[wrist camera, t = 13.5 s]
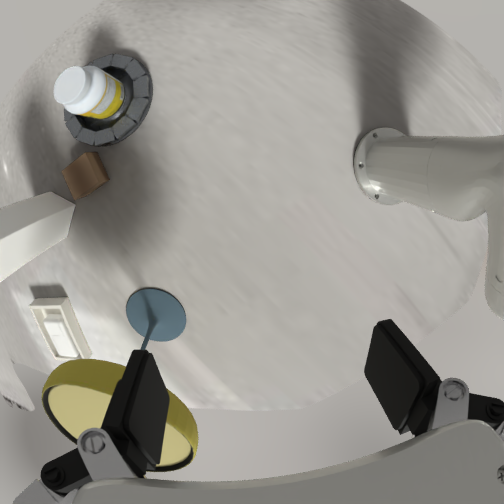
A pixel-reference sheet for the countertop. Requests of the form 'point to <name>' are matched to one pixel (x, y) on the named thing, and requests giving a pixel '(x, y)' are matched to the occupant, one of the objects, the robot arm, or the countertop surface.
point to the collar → (131, 111)
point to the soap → (60, 335)
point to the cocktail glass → (107, 375)
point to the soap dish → (63, 306)
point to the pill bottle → (89, 92)
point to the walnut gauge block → (85, 175)
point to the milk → (32, 229)
